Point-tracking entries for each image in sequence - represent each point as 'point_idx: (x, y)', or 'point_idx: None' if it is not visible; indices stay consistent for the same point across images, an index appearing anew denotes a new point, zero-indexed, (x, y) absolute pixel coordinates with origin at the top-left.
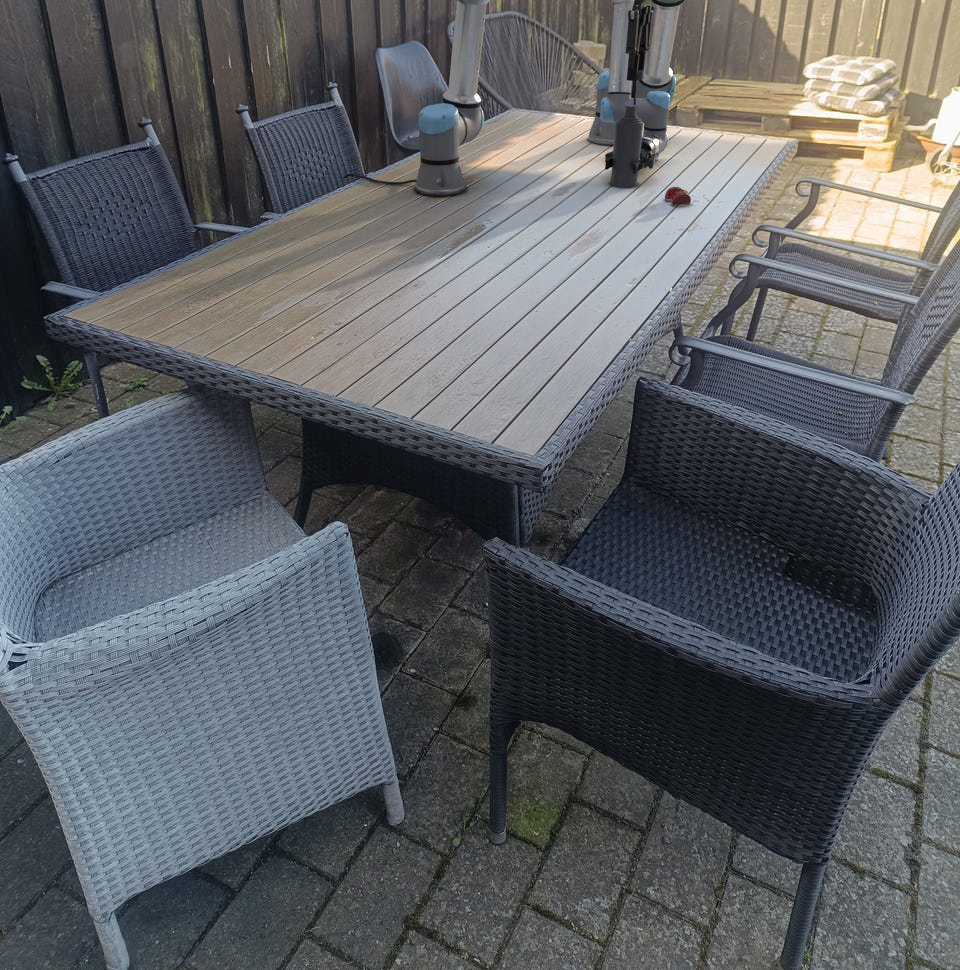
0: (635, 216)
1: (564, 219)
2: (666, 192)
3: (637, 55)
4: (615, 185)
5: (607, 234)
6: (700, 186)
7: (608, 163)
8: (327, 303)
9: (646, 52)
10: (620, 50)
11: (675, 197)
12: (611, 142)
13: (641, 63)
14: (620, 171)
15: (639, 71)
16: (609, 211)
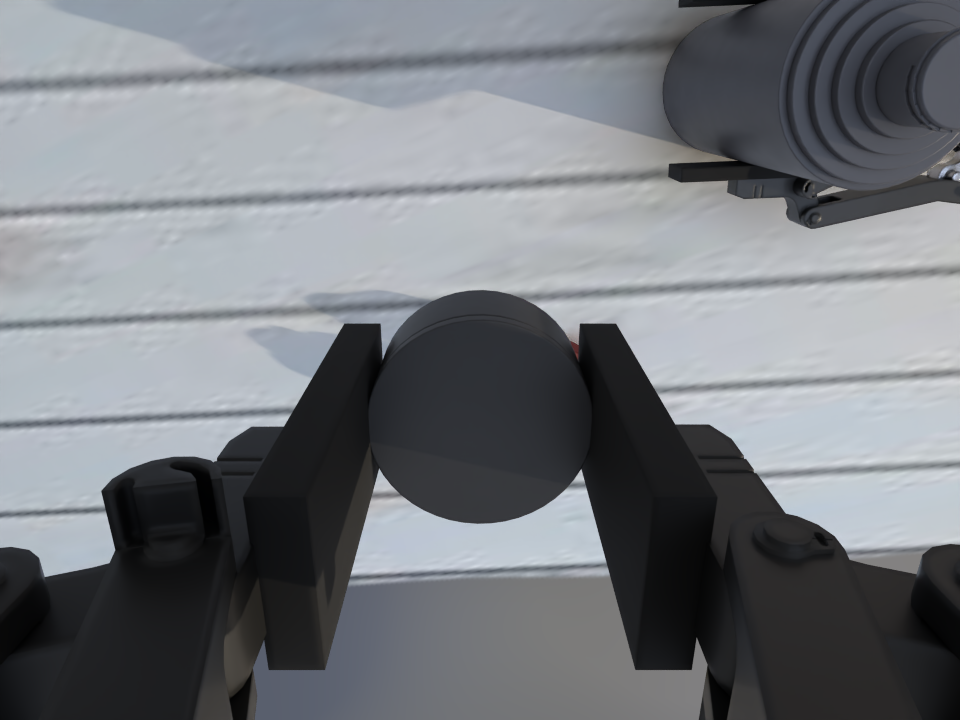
0: (312, 308)
1: (91, 59)
2: (574, 348)
3: (275, 641)
4: (667, 66)
5: (60, 294)
6: (813, 396)
7: (699, 3)
8: None
9: None
10: None
11: None
12: None
13: (601, 505)
14: (683, 88)
15: (449, 486)
16: (308, 192)
